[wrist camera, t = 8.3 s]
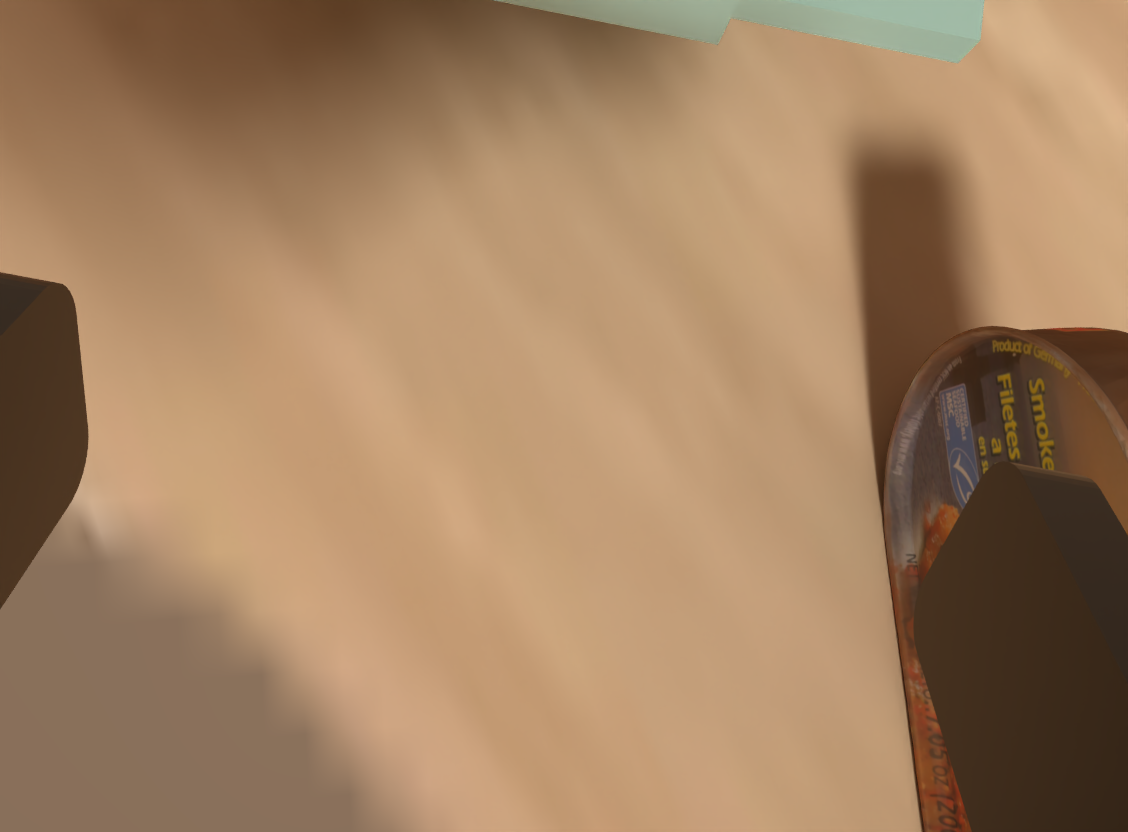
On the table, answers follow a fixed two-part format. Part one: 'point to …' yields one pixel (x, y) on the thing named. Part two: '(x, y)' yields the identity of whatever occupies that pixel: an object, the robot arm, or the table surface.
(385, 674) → the table surface
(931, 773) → the tin
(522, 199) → the table surface
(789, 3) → the lid
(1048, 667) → the robot arm
